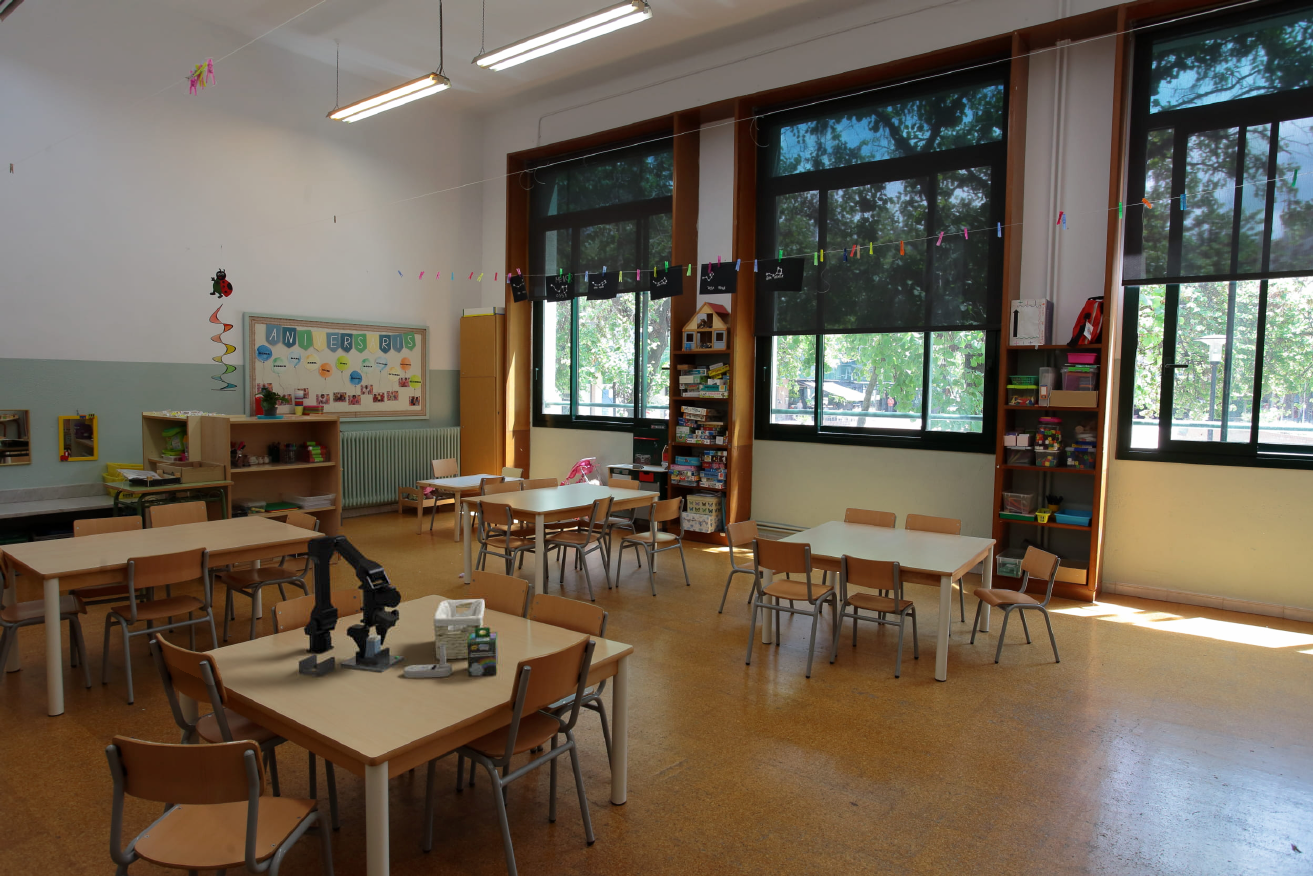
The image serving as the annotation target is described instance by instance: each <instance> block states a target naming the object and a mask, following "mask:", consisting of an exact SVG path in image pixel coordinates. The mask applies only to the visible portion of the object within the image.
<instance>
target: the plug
mask: <svg viewBox="0 0 1313 876" xmlns="http://www.w3.org/2000/svg"><path fill="white" fill-rule="evenodd" d="M369 635H370V636H369V637H368V638H367V642H366V653H365V658H371V659H374V654H375V653H377V652H379V651H381V650H382V645H381V637H380V636H379V635H377V634H372V633H371V634H369Z"/></svg>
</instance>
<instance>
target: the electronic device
mask: <svg viewBox="0 0 1313 876" xmlns="http://www.w3.org/2000/svg"><path fill="white" fill-rule="evenodd" d="M439 648H440V655H439V656H440V659H439V664H438V663H437V664H413V665H408V666H406V667H404V668H403V677H404V678H407V679H408V678H409V679H410V678H411V679H413V678H415V679H417V678H419V679H420V678H444V677H448V676H451V675H452V673H453V666H452V665H451V664H450V663H447V659H446V652H445V644H441V645H439Z"/></svg>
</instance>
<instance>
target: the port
mask: <svg viewBox="0 0 1313 876" xmlns="http://www.w3.org/2000/svg"><path fill="white" fill-rule="evenodd" d="M402 661H405V656H402V655H401V656H400V655H394V654H390V647H387V646H386V647H385V648H382V649H381V651H379V652H377V653H375V654H374V659H371V658H365V654H362V653H361V652H360V650H359V649H358V650H356V651H355V655H354V656H352V657H350V658H348V659H346V660H344V661H342V662H340V663H339V666H340V667H342V668H349V669H350V668H351V669H358V670H364V671H365V670H366V671H372V672H379V673H384V672H385V671H387V670H388V669H390V668H392V667H394V666H396V665H397V664H399V663H401V662H402Z"/></svg>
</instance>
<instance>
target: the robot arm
mask: <svg viewBox="0 0 1313 876" xmlns="http://www.w3.org/2000/svg"><path fill="white" fill-rule="evenodd" d="M335 551H336V552H337V553H338V554H339V555H340V556H341V557H342V558H343V560H345V561H346V562H347V563H348V564H349V565H350V566H351V567H352V568H353V569H354V570H355V576H356V577H357V580H359V582H360V583H361V584H360V585H359V586H358V587H357V589H358V590H362V606H361V607H359V611H360V612H362V618H361V619H360V620H359V623H360V624H358V623H355V624H352V625H351V626H349V627H347V628H346V636H347V637H349V638H352V640H353V641H354V642H355V645H356V646H357V648H358V650H360V652H361V653H362V654H365V653H366V642H367V638H368V637H369V636H370V634H369V633H370V632H371V628H374V629H375V632H376V635H379V636H380V637H381V646H383V645H384V642H385V640H386V636H387V633H388V630H389V629H391V628H393V627H395V626H396V624H397V621H399V620H400V610H398V609H397V607H398V606H399V605H400V603H401V600H402V595H401V593H400V591H399V590H397V587H396V585H395V586H394V585H392V584H391V580H390V578H389V577H388V575H387V574H386V572H385V568H384V567H383V566H382V565H381V564H380V563H378V562H377V561H375V560H371V559H368V558H367V557H365V556H364V555H363V553H361V552H360V550H358V549H357V548H356V547H355V545H354V544H352V543H351V542H350V541H349V540H348V538H347V536H346V535H344V534H338V535H334V536H330V535H323V536H318V537H313V538H310V539H309V541H308V542H307V554H308V558H309V559H310V560H311V561H312V563H313V574H314V576H313V577H314V606H313V609H312V610H311V612H310V618H309V621H308V623H307V624H306V625H305V626H304V627H303V631H304V635H306V636H308V637H309V639H308V640H309V641H308V642H309V648H307V649H306V652H309V653H314V654H315V653H316V654H323V653H325V652H326V653H327V651H330V650H332V649H334V648H335V646H333V644H332V636H331V632H332V631H335V630H336V625H337V624H338V620H339V617H338V616H339V615H338V614H339V613H338V612H339V609H338V608H337V607H335V606H334V605H333V604H332V597H331V596H332V595H331V594H332V593H331V592H332V591H331V564H330V563H331V560H332V558H333V556H334V555H335ZM386 608H390V609H393V610H391V611H390V610H388V611H387V610H386Z"/></svg>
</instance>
